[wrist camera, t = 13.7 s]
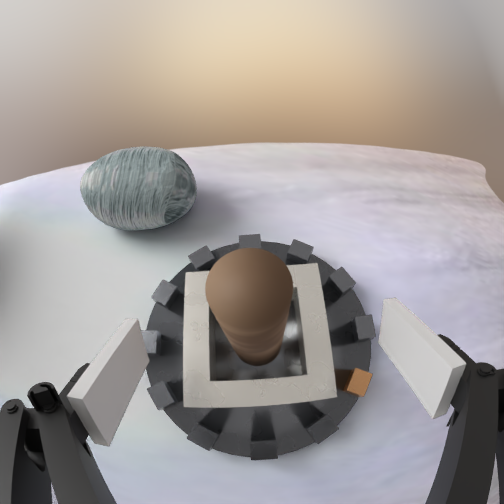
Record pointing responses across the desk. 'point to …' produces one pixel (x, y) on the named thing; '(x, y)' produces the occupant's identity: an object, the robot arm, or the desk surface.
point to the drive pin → (251, 302)
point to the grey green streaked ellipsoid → (139, 188)
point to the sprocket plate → (259, 377)
